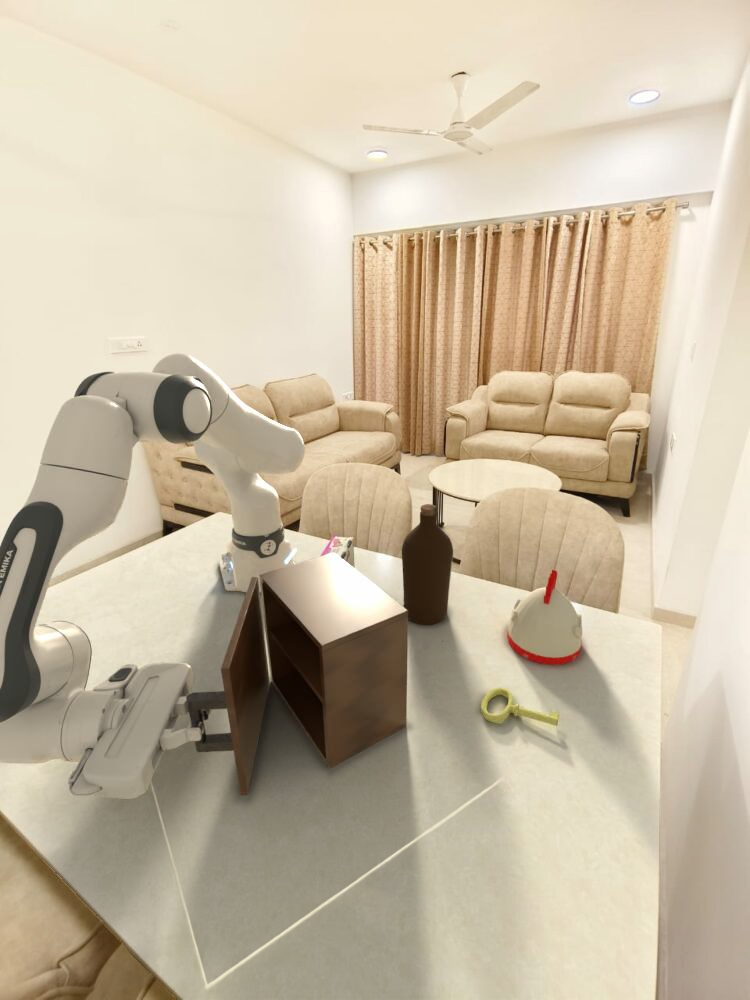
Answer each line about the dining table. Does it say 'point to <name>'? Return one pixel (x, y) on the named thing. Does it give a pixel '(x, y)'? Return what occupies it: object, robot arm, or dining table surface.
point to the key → (514, 709)
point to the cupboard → (336, 654)
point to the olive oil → (427, 569)
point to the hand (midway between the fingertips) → (206, 720)
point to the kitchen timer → (546, 626)
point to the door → (239, 690)
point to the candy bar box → (341, 548)
